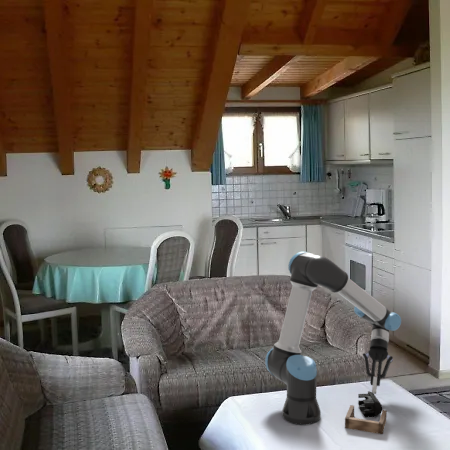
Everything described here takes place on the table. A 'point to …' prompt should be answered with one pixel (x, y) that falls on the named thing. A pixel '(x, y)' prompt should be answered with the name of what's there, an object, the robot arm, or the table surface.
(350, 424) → the corral
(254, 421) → the table surface
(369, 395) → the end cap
